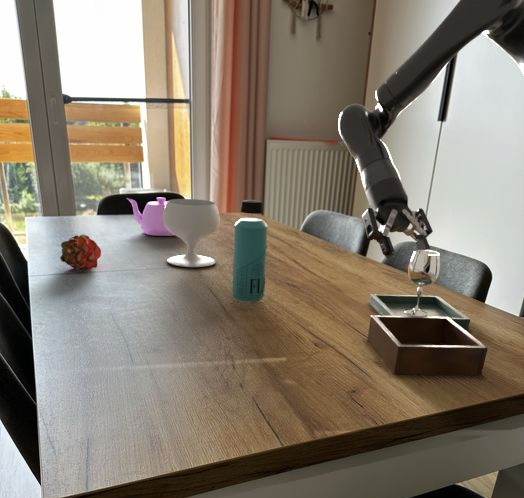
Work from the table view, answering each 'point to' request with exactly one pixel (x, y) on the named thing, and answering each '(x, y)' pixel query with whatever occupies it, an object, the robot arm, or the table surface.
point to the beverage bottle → (249, 254)
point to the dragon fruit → (80, 252)
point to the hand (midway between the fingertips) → (408, 255)
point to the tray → (429, 304)
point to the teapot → (152, 217)
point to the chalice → (191, 227)
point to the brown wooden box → (426, 346)
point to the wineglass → (422, 274)
